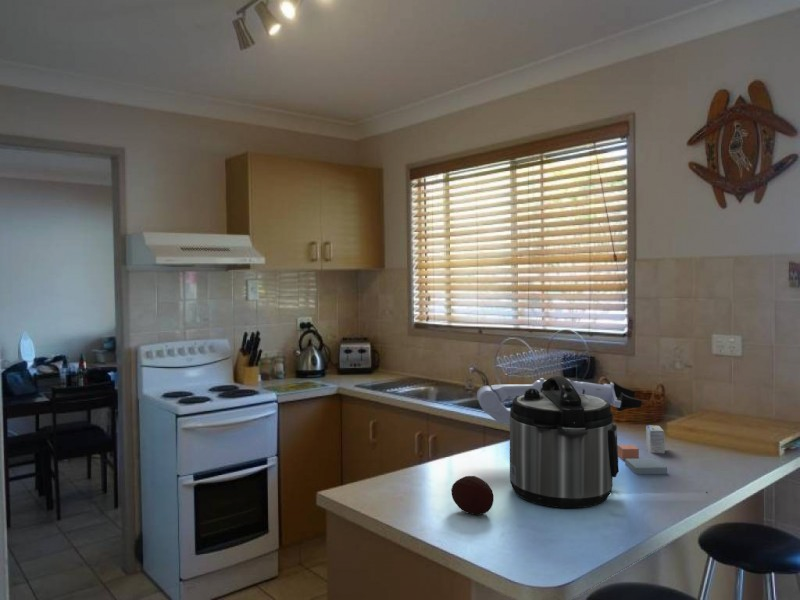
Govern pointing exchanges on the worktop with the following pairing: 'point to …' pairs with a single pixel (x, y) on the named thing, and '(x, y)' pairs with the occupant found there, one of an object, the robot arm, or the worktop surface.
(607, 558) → the worktop surface
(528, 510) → the worktop surface
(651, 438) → the medicine box
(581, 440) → the pressure cooker
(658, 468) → the top block
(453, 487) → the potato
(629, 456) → the red cube
